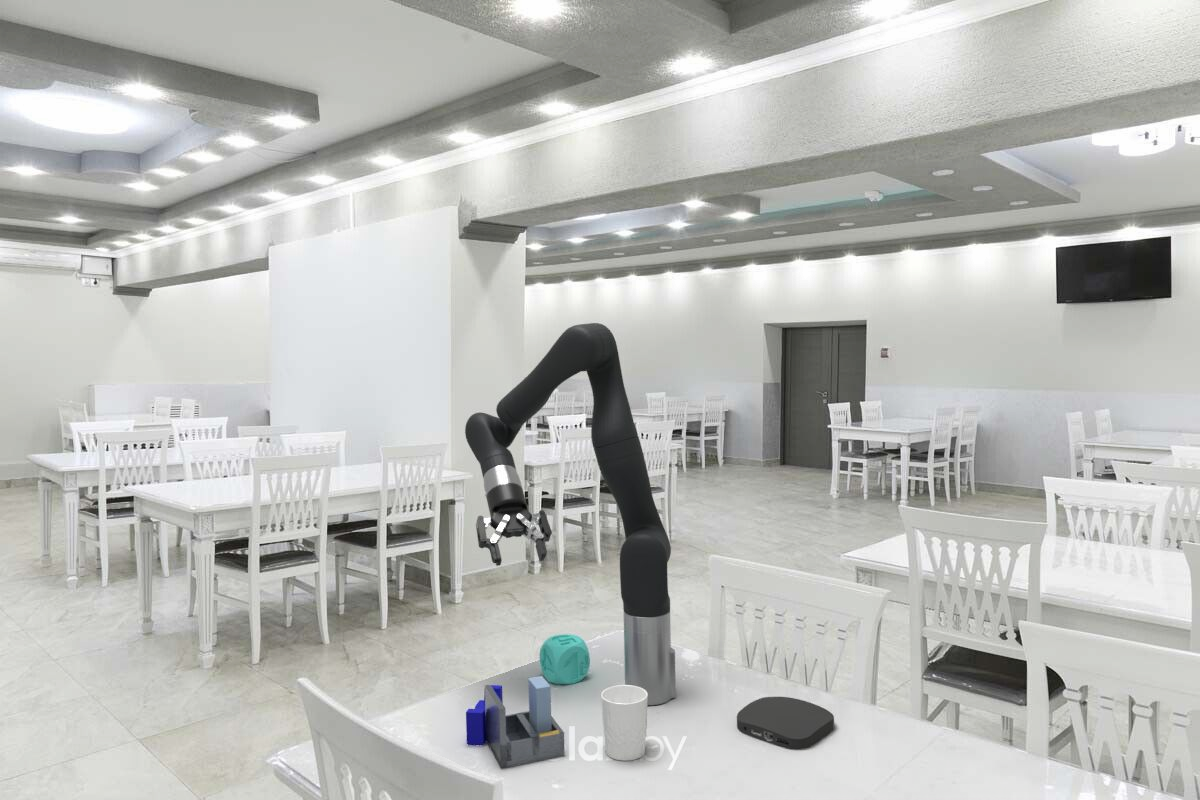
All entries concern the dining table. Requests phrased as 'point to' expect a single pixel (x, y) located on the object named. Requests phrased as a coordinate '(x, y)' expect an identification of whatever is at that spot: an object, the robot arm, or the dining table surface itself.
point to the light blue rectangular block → (539, 705)
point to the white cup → (624, 721)
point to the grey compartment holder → (518, 735)
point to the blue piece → (479, 720)
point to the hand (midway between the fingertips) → (521, 561)
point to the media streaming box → (785, 722)
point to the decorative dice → (564, 659)
